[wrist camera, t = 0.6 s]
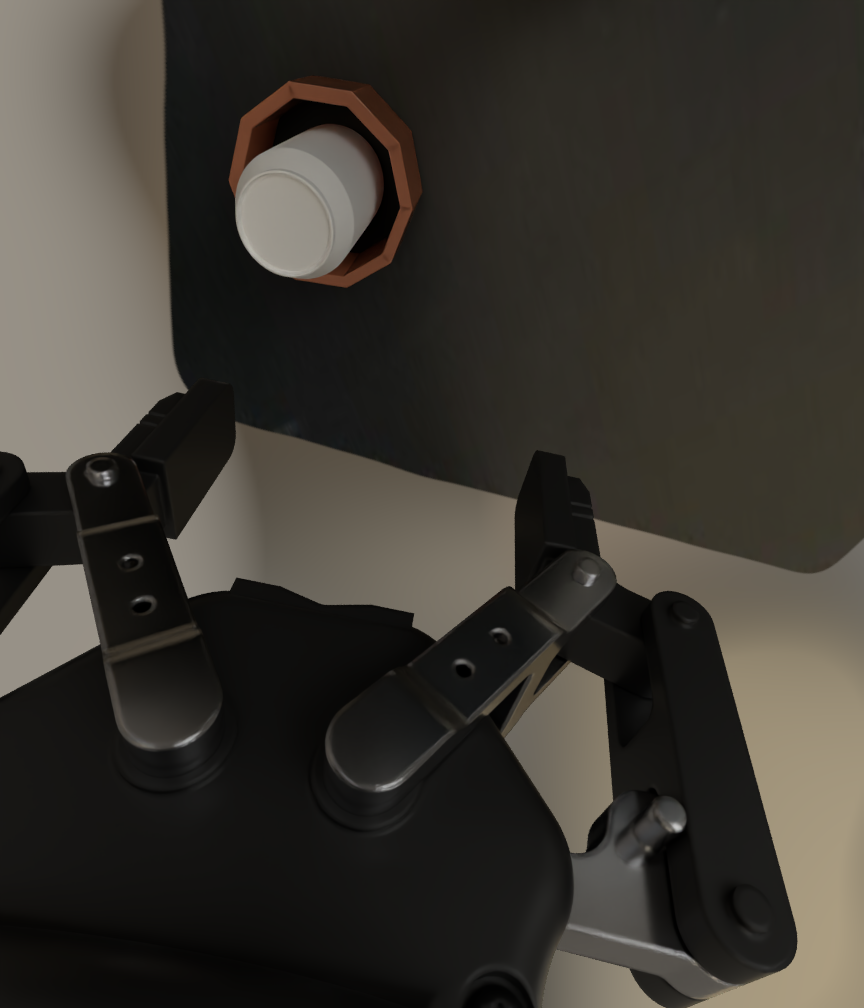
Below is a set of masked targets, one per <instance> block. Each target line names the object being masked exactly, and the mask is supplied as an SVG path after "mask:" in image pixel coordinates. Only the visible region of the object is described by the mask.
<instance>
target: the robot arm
mask: <svg viewBox="0 0 864 1008" xmlns="http://www.w3.org/2000/svg"><path fill="white" fill-rule="evenodd" d="M235 439H236V430H235V410H234V391H233V387H232V385H231V384H228V383H224V382H219V381H214V380H210V379H205V378H200V379H198V380H197V381H196V383H195V384H194V385H193V386H192V387H191V388H190V389H189V390H188V392H187V393H186V394H183V393H178V392H176V393H174V394H172V395H170V396H168V397H166V398H164V399H162V400H160V401H159V402H158V403H157V404H156V405H155V406H154V407H153V408H152V409H151V410H150V411H149V414H147V415H145V416H144V417H143V418H142V420H141V421H140V424H137V425H136V426H135V427H134V428H133V429H132V430H131V431H130V432H129V433H128V435H127V436H126V437H125V438H124V439H123V440H122V441H121V442H120V443H119V444H118V445H117V446H116V447H115V448H114V449H113V450H112V451H111V452H110V453H109V452H108V453H96V454H91V455H88V456H85V457H83V458H80V459H78V460H77V461H75V462H74V463H73V464H71V466H69V468H68V469H67V472H30V473H29V472H26V469H25V466H24V463H23V461H22V460H21V459H20V458H19V457H17V456H16V455H13V454H10V453H7V452H0V635H1V633H2V632H3V631H4V629H5V628H6V627H7V625H8V624H9V623H10V621H11V620H12V619H13V617H14V616H15V615H16V613H17V612H18V610H19V609H20V608H21V607H22V605H23V604H24V603H25V601H26V600H27V599H28V597H29V596H30V595H31V593H32V592H33V591H34V589H35V588H36V587H37V586H38V584H39V583H40V582H41V580H42V579H43V577H44V576H45V575H46V574H47V572H48V571H49V570H50V568H51V567H52V566H54V565H74V564H83V567H84V571H85V575H86V580H87V585H88V589H89V594H90V599H91V603H92V608H93V612H94V617H95V622H96V626H97V631H98V635H99V639H100V645H98V646H96V647H95V648H92V649H91V650H89V651H87V652H85V653H83V654H81V655H79V656H77V657H76V658H74V659H72V660H70V661H68V662H66V663H65V664H62V665H61V666H59V667H57V668H55V669H53V670H51V671H49V672H47V673H46V674H44V675H42V676H40V677H38V678H36V679H34V680H33V681H31V682H29V683H27V684H25V685H23V686H21V687H19V688H17V689H16V690H14V691H12V692H10V693H8V694H6V695H4V696H3V697H1V698H0V1008H542V1001H543V994H544V989H545V984H546V979H547V975H548V972H549V968H550V965H551V962H552V959H553V956H554V953H555V951H556V949H557V950H561V951H565V952H569V953H572V954H576V955H580V956H584V957H588V958H592V959H595V960H599V961H603V962H607V963H611V964H615V965H619V966H623V967H627V968H630V971H631V973H632V975H633V977H634V979H635V981H636V982H637V983H638V985H639V986H640V988H641V989H642V990H643V991H644V992H645V994H646V995H647V996H649V997H650V998H651V999H652V1000H653V1001H655V1002H656V1003H658V1004H659V1005H661V1006H663V1007H666V1008H687V1007H690V1006H692V1005H695V1004H697V1003H700V1002H702V1001H705V1000H707V999H709V998H712V997H715V996H717V995H720V994H723V993H725V992H728V991H730V990H733V989H735V988H738V987H740V986H743V985H745V984H748V983H750V982H753V981H755V980H758V979H760V978H763V977H766V976H768V975H771V974H773V973H776V972H778V971H781V970H783V969H785V968H786V967H787V966H788V965H789V964H790V963H791V962H792V960H793V959H794V956H795V953H796V950H797V931H796V926H795V922H794V918H793V915H792V911H791V907H790V903H789V900H788V896H787V893H786V889H785V885H784V881H783V877H782V874H781V870H780V866H779V863H778V859H777V855H776V851H775V848H774V844H773V841H772V837H771V833H770V830H769V826H768V822H767V819H766V815H765V811H764V808H763V803H762V800H761V796H760V792H759V789H758V785H757V782H756V778H755V775H754V770H753V767H752V763H751V759H750V755H749V752H748V748H747V744H746V741H745V737H744V733H743V730H742V726H741V722H740V719H739V715H738V711H737V707H736V704H735V700H734V697H733V693H732V689H731V686H730V682H729V678H728V674H727V671H726V667H725V663H724V659H723V656H722V652H721V648H720V645H719V641H718V637H717V634H716V630H715V626H714V623H713V620H712V618H711V616H710V615H709V613H708V612H707V611H706V610H705V608H704V607H703V606H701V605H700V604H699V603H698V602H697V601H695V600H694V599H692V598H690V597H688V596H686V595H684V594H681V593H678V592H673V591H663V592H660V593H658V594H656V595H655V596H654V597H653V599H652V600H649V599H647V598H645V597H642V596H640V595H638V594H636V593H633V592H632V591H629V590H627V589H626V588H624V587H622V586H620V585H619V584H618V583H617V580H616V575H615V572H614V571H613V569H612V568H611V566H610V565H609V564H608V563H607V562H606V561H605V560H604V559H602V558H601V557H600V551H599V546H598V540H597V534H596V528H595V522H594V520H593V518H594V516H593V510H592V509H591V507H592V504H591V498H590V492H589V491H588V490H587V488H586V487H585V485H584V484H583V483H582V481H581V480H580V479H579V478H575V477H570V476H567V468H566V461H565V457H564V456H562V455H557V454H552V453H548V452H543V451H538V450H537V451H536V452H535V453H534V455H533V458H532V461H531V463H530V466H529V469H528V471H527V474H526V477H525V480H524V482H523V485H522V488H521V491H520V493H519V496H518V500H517V504H516V510H515V590H514V589H513V588H512V587H510V586H508V587H506V588H504V589H502V590H501V591H500V592H498V593H497V594H496V595H495V596H493V597H492V598H491V599H490V600H489V601H487V602H486V603H485V604H483V605H482V606H481V607H480V608H478V609H477V610H476V611H475V612H473V613H472V614H471V615H470V616H468V617H467V618H466V619H465V620H463V621H462V622H461V623H459V624H458V625H457V626H456V627H454V628H453V629H452V630H451V631H449V632H448V633H447V634H446V635H444V636H443V637H442V638H441V639H439V640H438V641H435V640H434V639H433V638H431V637H430V636H429V635H427V634H425V633H424V632H422V631H420V630H418V629H416V628H413V627H412V622H413V617H414V613H409V612H404V611H399V610H394V609H389V608H384V607H380V606H374V605H322V604H319V603H317V602H315V601H312V600H310V599H308V598H305V597H303V596H301V595H299V594H296V593H294V592H292V591H289V590H287V589H285V588H283V587H281V586H276V585H270V584H265V583H261V582H256V581H251V580H246V579H241V578H236V580H235V582H234V584H233V586H232V588H231V590H230V591H218V592H211V593H206V594H201V595H198V596H195V597H191V598H189V599H188V597H187V595H186V592H185V589H184V587H183V583H182V581H181V578H180V575H179V572H178V570H177V567H176V564H175V561H174V558H173V555H172V552H171V550H170V547H169V544H168V541H167V538H171V539H177V538H178V536H179V535H180V533H181V531H182V530H183V529H184V527H185V526H186V524H187V522H188V521H189V519H190V518H191V516H192V515H193V513H194V512H195V510H196V508H197V507H198V506H199V504H200V503H201V501H202V499H203V498H204V497H205V495H206V493H207V492H208V490H209V489H210V487H211V486H212V484H213V483H214V481H215V480H216V478H217V477H218V475H219V474H220V472H221V470H222V469H223V467H224V466H225V464H226V463H227V461H228V460H229V458H230V456H231V454H232V452H233V449H234V445H235ZM570 662H572V663H574V664H576V665H579V666H580V667H582V668H584V669H586V670H588V671H590V672H592V673H594V674H596V675H598V676H600V677H602V678H604V685H605V698H606V712H607V725H608V738H609V752H610V764H611V778H612V790H613V802H612V803H611V804H610V805H609V806H608V808H607V809H606V810H605V811H604V812H603V813H602V814H601V815H600V816H599V817H598V818H597V819H596V820H595V822H594V823H593V824H592V826H591V828H590V830H589V834H588V841H587V850H586V852H585V853H570V851H569V847H568V844H567V841H566V839H565V836H564V834H563V832H562V830H561V827H560V825H559V824H558V822H557V820H556V818H555V817H554V815H553V814H552V812H551V811H550V809H549V807H548V806H547V804H546V803H545V801H544V800H543V798H542V797H541V795H540V793H539V792H538V791H537V789H536V787H535V786H534V784H533V783H532V781H531V779H530V778H529V776H528V775H527V773H526V772H525V770H524V769H523V767H522V765H521V764H520V762H519V761H518V759H517V758H516V756H515V755H514V753H513V751H512V750H511V748H510V747H509V745H508V744H507V742H506V741H505V739H504V738H505V737H506V735H507V734H508V733H509V732H510V731H511V730H512V728H513V727H514V726H515V724H516V723H517V722H518V720H519V719H520V718H521V716H522V715H523V713H524V712H525V711H526V710H527V708H528V707H529V706H530V705H531V704H532V702H534V700H535V699H536V698H537V697H538V696H539V695H540V694H541V693H542V692H543V691H544V690H545V689H546V688H547V687H548V686H549V685H550V683H551V682H552V681H553V680H554V679H555V678H556V677H557V676H558V675H559V674H560V673H561V672H562V671H563V670H564V669H565V668H566V667H567V665H568V664H569V663H570Z"/></svg>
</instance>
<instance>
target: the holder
mask: <svg viewBox="0 0 864 1008" xmlns="http://www.w3.org/2000/svg"><path fill="white" fill-rule="evenodd" d="M303 100H309V101H316V102H322V103H328V104H334V105H340V106H347V107H348V108H349V109H350V110H351V111H352V112H353V113H354V114H355V115H356V117H357V118H358V119H359V120H360V121H361V122H362V123H363V124H364V125H365V126H366V127H367V128H368V129H369V130H370V131H371V133H372V134H373V135H374V136H375V137H376V138H377V139H378V140H379V141H380V142H381V143H382V144H383V145H384V146H385V147H386V149H387V150H388V151H389V156H390V160H391V165H392V170H393V175H394V180H395V185H396V189H397V194H398V199H399V204H400V210H399V212H398V215H397V217H396V220H395V222H394V225H393V227H392V230H391V233H390V235H389V236H388V237H386V238H384V239H383V240H381V241H379V242H378V243H376V244H374V245H372V246H371V247H369V248H367V249H366V250H364V251H362V252H361V253H353V252H349V253H348V254H347V256H346V257H345V259H344V260H343V261H342V262H341V264H340V265H339V266H338V267H336V268H335V269H334V270H333V271H331V272H330V273H328V274H326V275H323V276H321V277H317V278H312V279H298V278H294V279H295V280H302V281H308V282H314V283H320V284H326V285H332V286H339V287H345V288H347V287H349V286H351V285H353V284H355V283H356V282H358V281H360V280H362V279H363V278H365V277H367V276H369V275H371V274H372V273H374V272H376V271H378V270H379V269H381V268H383V267H385V266H387V265H388V264H390V263H391V262H392V260H393V258H394V256H395V254H396V252H397V250H398V248H399V246H400V244H401V243H402V241H403V238H404V235H405V233H406V231H407V228H408V226H409V223H410V221H411V218H412V216H413V213H414V211H415V209H416V206H417V204H418V201H419V199H420V196H421V194H422V186H421V181H420V175H419V170H418V164H417V159H416V153H415V148H414V142H413V137H412V131H411V130H410V129H409V128H408V127H407V125H406V124H405V123H404V122H403V121H402V120H401V119H400V118H399V117H398V116H397V114H396V113H395V112H394V111H393V110H392V109H391V108H390V107H389V106H388V104H387V103H386V102H385V101H384V100H383V99H382V98H381V97H380V96H379V95H378V93H377V92H376V91H375V90H374V89H373V88H372V87H371V86H370V85H369V84H364V83H358V82H351V81H345V80H339V79H333V78H327V77H320V76H314V75H312V76H308V77H304V78H300V79H296V80H291V81H288V82H287V83H286V84H284V85H283V86H282V87H281V88H279V89H278V90H277V91H275V92H274V93H273V94H271V95H270V96H269V97H267V98H266V99H265V100H264V101H262V102H261V103H260V104H258V105H257V106H256V107H254V108H253V109H252V110H251V111H249V112H248V113H247V114H245V115H244V116H243V117H242V118H241V121H240V126H239V131H238V136H237V141H236V146H235V151H234V156H233V161H232V166H231V171H230V176H229V179H228V180H229V183H230V185H231V188H232V191H233V194H234V196H235V197H236V189H237V185H238V182H239V179H240V176H241V174H242V172H243V171H244V169H245V168H246V166H247V165H248V164H249V163H250V162H251V161H252V160H253V159H254V158H255V157H256V156H258V155H259V154H261V153H263V152H265V151H267V150H269V149H271V148H272V147H273V143H274V139H275V134H276V130H277V126H278V122H279V118H280V117H282V116H283V115H284V114H286V113H287V112H288V111H290V110H291V109H292V108H294V107H295V106H296V105H298V104H299V103H300V102H302V101H303Z"/></svg>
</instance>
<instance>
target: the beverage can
mask: <svg viewBox="0 0 864 1008" xmlns="http://www.w3.org/2000/svg"><path fill="white" fill-rule="evenodd" d="M383 191H384V178H383V172H382V168H381V164H380V161H379V159H378V157H377V155H376V153H375V151H374V150H373V148H372V147H371V145H370V144H369V143H368V142H367V141H366V140H365V139H364V138H363V137H362V136H361V135H360V134H359V133H357V132H356V131H354V130H352V129H350V128H348V127H345V126H342V125H337V124H323V125H319V126H316V127H313V128H311V129H309V130H307V131H305V132H302V133H300V134H298V135H296V136H294V137H292V138H290V139H289V140H287V141H285V142H283V143H281V144H279V145H277V146H275V147H273V148H271V149H269V150H267V151H265V152H263V153H261V154H259V155H258V156H256V157H255V158H254V159H253V160H252V161H251V162H250V163H249V164H248V165H247V166H246V168H245V169H244V171H243V172H242V174H241V176H240V179H239V182H238V185H237V189H236V197H235V207H236V224H237V229H238V232H239V235H240V238H241V240H242V242H243V244H244V246H245V248H246V249H247V251H248V252H249V253H250V255H251V256H252V257H253V258H254V259H255V260H256V261H257V262H258V263H259V264H260V265H262V266H263V267H264V268H266V269H267V270H269V271H271V272H273V273H275V274H278V275H281V276H285V277H293V278H298V279H312V278H317V277H321V276H323V275H326V274H328V273H330V272H331V271H333V270H334V269H335V268H336V267H338V266H339V265H340V264H341V262H342V261H343V260H344V259H345V257H346V256H347V254H348V253H349V252H350V250H351V249H352V247H353V246H354V245H355V243H356V242H357V240H358V239H359V238H360V236H361V235H362V233H363V232H364V231H365V229H366V228H367V226H368V225H369V224H370V222H371V221H372V219H373V218H374V216H375V215H376V213H377V211H378V209H379V207H380V204H381V201H382V197H383Z"/></svg>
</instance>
